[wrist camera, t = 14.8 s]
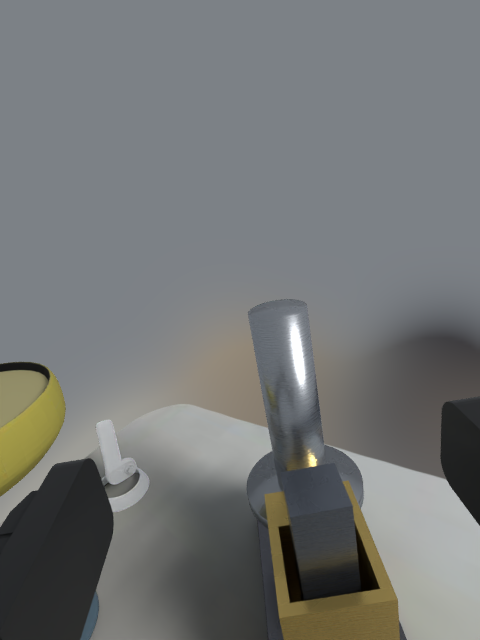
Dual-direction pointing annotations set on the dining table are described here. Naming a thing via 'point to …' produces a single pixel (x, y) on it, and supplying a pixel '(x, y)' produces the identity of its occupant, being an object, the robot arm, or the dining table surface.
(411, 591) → the dining table surface
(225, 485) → the dining table surface
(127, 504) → the white vr controller
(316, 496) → the grey square peg
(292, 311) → the flanged pole stand
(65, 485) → the robot arm
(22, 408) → the cocktail glass
